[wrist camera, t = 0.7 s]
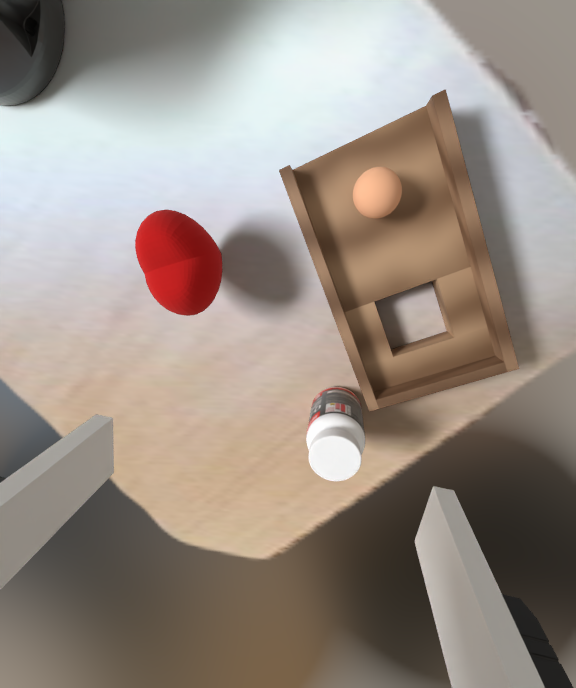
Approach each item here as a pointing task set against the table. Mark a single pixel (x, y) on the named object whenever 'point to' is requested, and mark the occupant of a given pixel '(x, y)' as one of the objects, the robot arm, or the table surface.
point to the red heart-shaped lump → (179, 262)
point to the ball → (377, 192)
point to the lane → (405, 257)
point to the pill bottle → (335, 434)
